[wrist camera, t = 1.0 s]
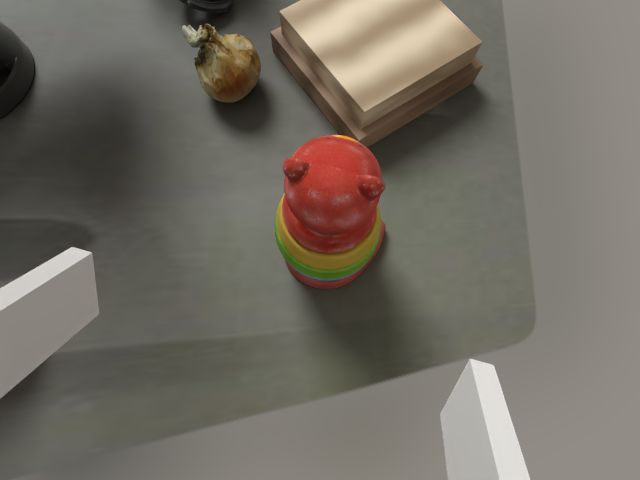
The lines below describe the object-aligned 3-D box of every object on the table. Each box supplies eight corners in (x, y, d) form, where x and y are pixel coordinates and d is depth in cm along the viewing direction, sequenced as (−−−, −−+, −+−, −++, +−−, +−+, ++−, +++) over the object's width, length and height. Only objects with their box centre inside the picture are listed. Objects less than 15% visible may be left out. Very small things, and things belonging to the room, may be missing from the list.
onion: (207, 121, 44) (184, 72, 36) (198, 67, 46) (175, 11, 38) (270, 109, 44) (260, 58, 37) (258, 57, 47) (246, -1, 39)
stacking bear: (389, 219, 40) (442, 121, 23) (359, 307, 37) (396, 268, 20) (297, 188, 41) (283, 72, 24) (261, 270, 38) (218, 205, 21)
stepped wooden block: (273, 51, 47) (266, 9, 41) (384, -8, 50) (393, -55, 44) (356, 154, 42) (362, 123, 37) (472, 82, 46) (495, 43, 40)
